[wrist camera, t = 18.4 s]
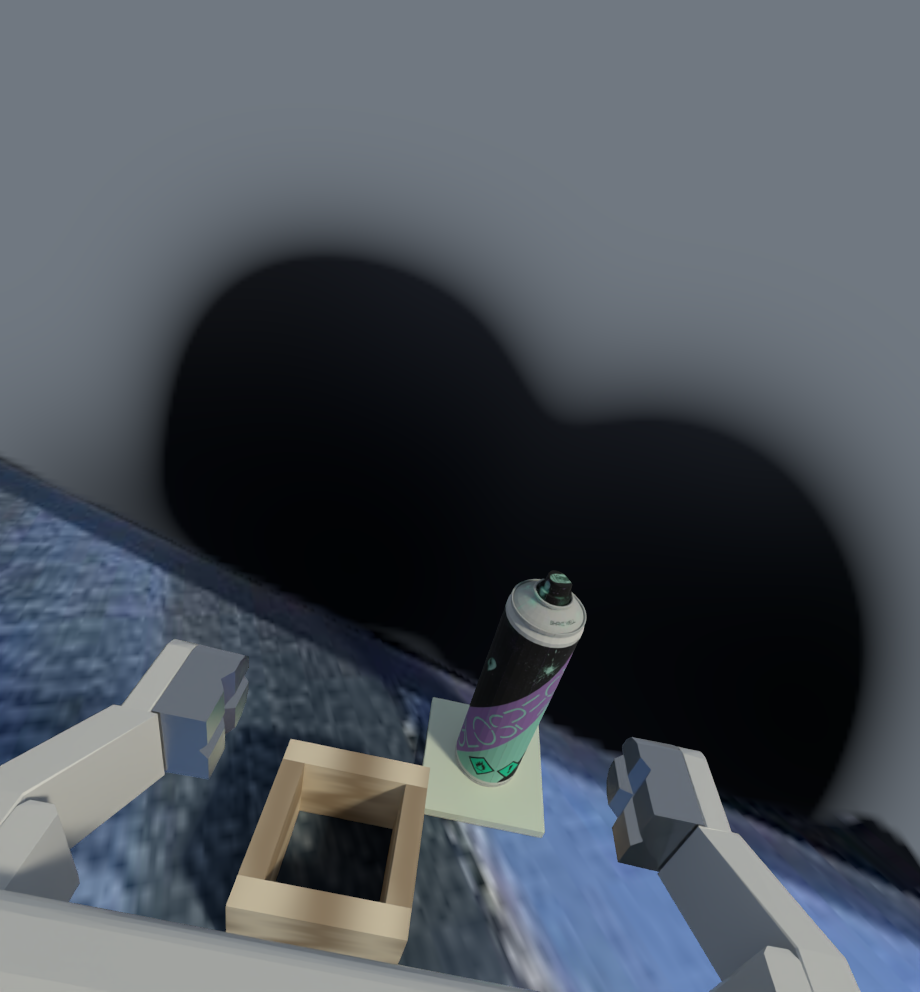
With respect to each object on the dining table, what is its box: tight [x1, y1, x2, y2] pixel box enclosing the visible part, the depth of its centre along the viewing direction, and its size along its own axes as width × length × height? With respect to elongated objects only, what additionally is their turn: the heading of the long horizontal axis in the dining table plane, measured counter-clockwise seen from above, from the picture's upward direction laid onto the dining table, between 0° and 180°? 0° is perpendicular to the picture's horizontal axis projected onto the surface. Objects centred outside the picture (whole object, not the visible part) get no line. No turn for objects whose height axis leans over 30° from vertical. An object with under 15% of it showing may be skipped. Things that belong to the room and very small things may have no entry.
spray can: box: [455, 571, 586, 787], centre depth 40 cm, size 6×6×20 cm
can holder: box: [226, 739, 430, 965], centre depth 35 cm, size 10×10×6 cm
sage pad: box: [422, 697, 545, 838], centre depth 45 cm, size 10×10×1 cm
